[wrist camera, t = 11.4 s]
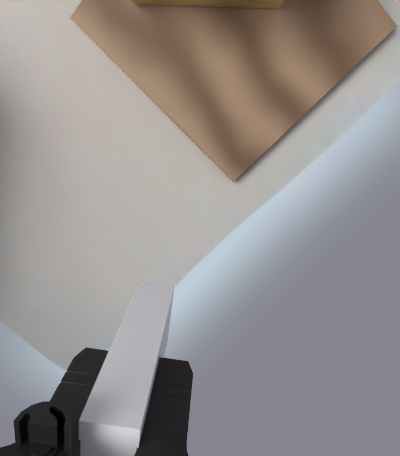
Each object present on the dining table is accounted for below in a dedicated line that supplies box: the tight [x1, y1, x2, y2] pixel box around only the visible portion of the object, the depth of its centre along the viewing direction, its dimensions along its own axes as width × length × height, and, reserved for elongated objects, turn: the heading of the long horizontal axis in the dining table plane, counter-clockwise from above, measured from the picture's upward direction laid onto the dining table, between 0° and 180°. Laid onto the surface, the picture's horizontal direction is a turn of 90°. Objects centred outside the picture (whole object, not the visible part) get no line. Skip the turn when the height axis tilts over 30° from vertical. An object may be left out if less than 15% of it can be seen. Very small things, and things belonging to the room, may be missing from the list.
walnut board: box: [70, 0, 396, 182], centre depth 32 cm, size 20×22×1 cm
